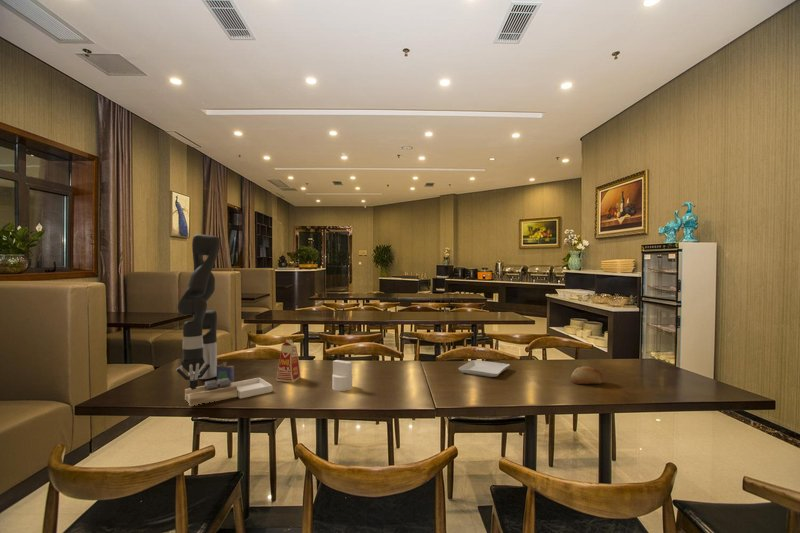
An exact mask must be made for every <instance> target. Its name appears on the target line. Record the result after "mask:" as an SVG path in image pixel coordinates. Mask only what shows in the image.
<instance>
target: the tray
mask: <svg viewBox="0 0 800 533" xmlns="http://www.w3.org/2000/svg"><path fill="white" fill-rule="evenodd" d="M231 386H237V397H238V398H239V399H245V398H249V397H253V396H259V395H263V394H269V393H271V392H272V393H273V391H274V390H273V387H274V386H273V385H272V384H271V383H269V382H267V380H265V379H263V378H261V377H255V378H249V379H245V380H238V381H234V382H232V383H231Z"/></svg>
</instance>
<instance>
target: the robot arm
mask: <svg viewBox="0 0 800 533" xmlns="http://www.w3.org/2000/svg"><path fill="white" fill-rule="evenodd" d="M191 244H192V246H191V248H192V250H191V251H192V262H193V272H192V273H191V275H190V277H189V281H188V284H187V285H188V286H187V287H186V290H185V292H184V293H183V294H182V296H181V297H180V298H179V300H178V304H177V311H178V313H179V314H180V315H182V316H192V320H187V321H185V322H183V325H182V333H183V334H182V335H183V336H182V361H181V365H180V366H178V367H176V368H175V371H176V372H177V373H178V374H179V375H180V376H181V377H182V378H183V379H184V380H186V381H189V382H188V384H189V385H188V387H189V388H191V389H192V390H193V389H196V387H199V386H198V384H199V383H198V381H199V380H207V379H212V378H215V377H216V376H217V367H216V366H217V365H218V355H217V354H218V352H217V351H218V346H217V345H218V340H217V327H218V326H217V324H218V314H217V311H216V310H215V309H210V310H209V309H208V303H207V302H208V300H209V299H210V298H211V297H212V296H213V294H214V292H215V290H216V286H215V285H216V278H215V275H214V273H213V272H212V271H213V268H214V265H215V263H216V261H217V258H218V255H219V252H220V247H221V240H220V238H219V237H218V236H216V235H211V234H210V235H209V234H208V235H207V234H200V233H196V234H195V235H193V238H192V243H191ZM203 256H206V257H207V258H206V259H205V260H204V258H203ZM207 309H208V310H207ZM203 330H208V331H207V332H205V333H204V334H203ZM184 369H185V371H186V372H187V374H185V373H184Z"/></svg>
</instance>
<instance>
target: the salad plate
mask: <svg viewBox="0 0 800 533" xmlns="http://www.w3.org/2000/svg"><path fill="white" fill-rule="evenodd" d="M509 367H511V364H509V363H502V362H496V361H493V362H492V361H487V360H486V361H485V360H476V359H473V360H470V361H468V362H466V363H464V364H463V365H461V366H460V367H458V370H459V371H460V372H462V373H464V374H468V375H475V376H481V377H489V378H495V377H498V376H499V375H500V374H501V373H503V372H504V371H505V370H507V369H508V368H509Z"/></svg>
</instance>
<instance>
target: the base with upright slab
mask: <svg viewBox="0 0 800 533" xmlns="http://www.w3.org/2000/svg"><path fill="white" fill-rule="evenodd" d="M331 384H332V388H331V389H332V390H333V391H336V392H345V391H346V390H347V391H349V390H352V389H353V362H352V361H348V360H347V361H346V360H342V359H341V360H340V359H335V360H332V383H331Z"/></svg>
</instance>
